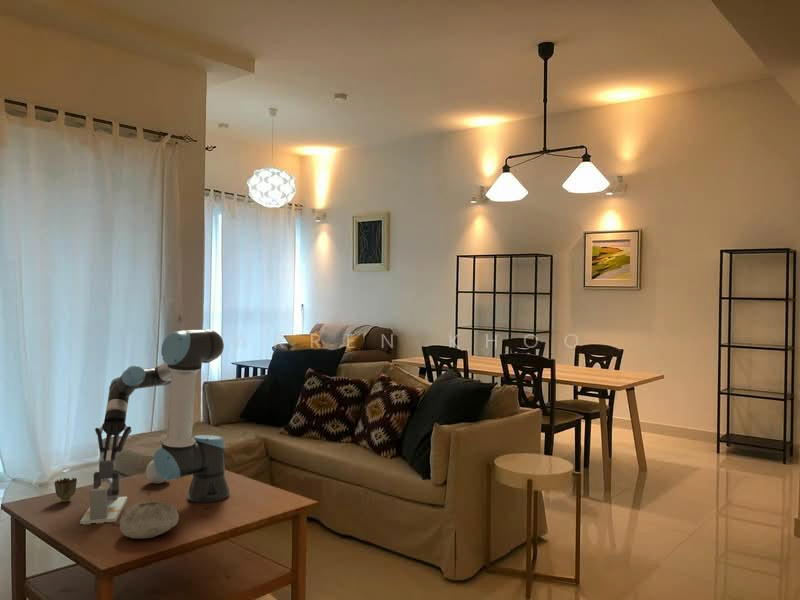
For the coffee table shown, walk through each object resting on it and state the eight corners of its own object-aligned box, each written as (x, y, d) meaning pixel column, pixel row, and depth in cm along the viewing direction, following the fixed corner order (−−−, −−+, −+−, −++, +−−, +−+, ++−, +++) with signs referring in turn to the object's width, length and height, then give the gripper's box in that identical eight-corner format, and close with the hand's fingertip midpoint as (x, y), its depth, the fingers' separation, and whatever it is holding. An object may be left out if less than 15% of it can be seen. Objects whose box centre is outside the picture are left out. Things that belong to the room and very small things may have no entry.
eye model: (176, 480, 266) (176, 456, 266) (162, 487, 256) (162, 462, 256) (155, 478, 268) (155, 454, 268) (140, 485, 258) (140, 461, 258)
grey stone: (134, 523, 216) (134, 494, 216) (186, 524, 216) (186, 494, 216) (109, 544, 199) (109, 512, 198) (165, 545, 198) (165, 513, 198)
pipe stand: (95, 501, 238) (95, 472, 238) (127, 499, 241) (127, 470, 241) (80, 524, 215) (79, 492, 215) (115, 521, 218) (115, 489, 218)
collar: (95, 494, 232) (95, 461, 232) (119, 492, 234) (119, 459, 234) (93, 496, 229) (93, 463, 229) (117, 495, 231) (117, 461, 231)
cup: (81, 498, 242) (81, 477, 242) (69, 505, 235) (69, 483, 235) (62, 498, 243) (62, 477, 243) (50, 504, 236) (49, 482, 235)
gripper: (135, 418, 254) (128, 471, 238) (99, 420, 251) (89, 474, 235) (132, 407, 249) (125, 461, 233) (96, 408, 245) (86, 463, 230)
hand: (107, 467), depth 234 cm, fingers closed
